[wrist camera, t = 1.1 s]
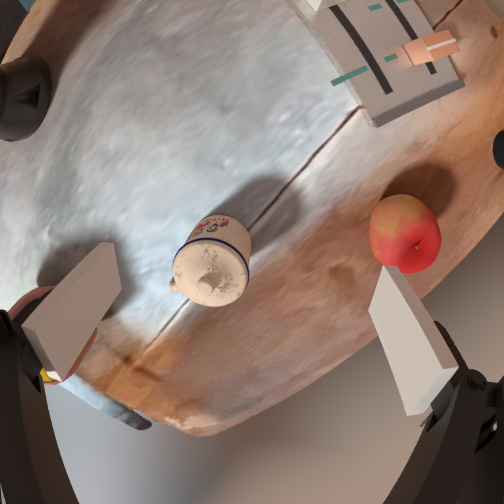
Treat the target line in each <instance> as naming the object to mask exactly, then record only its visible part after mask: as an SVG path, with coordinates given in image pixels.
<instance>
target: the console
mask: <svg viewBox="0 0 504 504" xmlns="http://www.w3.org/2000/svg"><path fill="white" fill-rule="evenodd" d="M285 1H286V2H287V4H288V5H289V6H290V7H291V8H292V9H293V11H294V12H295V13H296V14H297V16H298V17H299V18H300V19H301V21H302V22H303V23H304V24H305V26H306V27H307V28H308V30H309V31H310V32H311V34H312V35H313V36H314V38H315V39H316V41H317V42H318V43H319V45H320V46H321V48H322V49H323V50H324V52H325V53H326V55H327V56H328V58H329V59H330V61H331V62H332V64H333V65H334V67H335V68H336V70H337V71H338V73H339V75H340V76H341V77H339V78H336V79H334V80H332V81H330V82H331V83H332V85H333V86H335V85H337V84H340V83H342V82H344V83H345V84H346V86H347V88H348V89H349V91H350V93H351V94H352V96H353V98H354V100H355V101H356V103H357V105H358V107H359V109H360V110H361V112H362V114H363V116H364V118H365V120H366V121H367V123H368V125H369V126H371V127H380V126H382V125H384V124H386V123H388V122H390V121H392V120H394V119H396V118H398V117H400V116H402V115H404V114H406V113H409V112H411V111H413V110H415V109H417V108H419V107H421V106H423V105H425V104H427V103H430V102H432V101H434V100H436V99H438V98H440V97H442V96H445V95H447V94H449V93H451V92H454V91H456V90H458V89H460V88H463V87H465V83H464V81H463V79H461V80H459V79H458V77H457V75H456V72H455V70H454V68H453V66H452V64H451V62H450V60H449V58H448V56H445V57H443V58H440V59H437V60H434V61H430V62H426V63H422V64H418V65H414V64H413V62H412V60H411V58H410V56H409V55H408V53H407V51H406V49H405V48H404V46H403V45H404V44H406V43H408V42H411V41H413V40H416V39H418V38H420V37H423V36H427V35H430V34H433V33H434V31H433V29H432V28H431V26H430V24H429V23H428V21H427V19H426V18H425V16H424V15H423V13H422V12H421V10H420V9H419V7H418V6H417V4H416V3H415V1H414V0H348V1H345V2H342V3H339V4H336V5H334V6H331V7H328V8H326V9H323V10H320V11H318V12H316V11H315V10H314V9H313V8H312V6H311V5H310V4H309V3H308V2H307V0H285Z"/></svg>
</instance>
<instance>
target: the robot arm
mask: <svg viewBox="0 0 504 504" xmlns="http://www.w3.org/2000/svg"><path fill="white" fill-rule="evenodd" d="M34 2H35V0H0V64H1V62H2V60H3V58H4V56H5V54H6V52H7V50H8V48H9V46H10V44H11V42H12V40H13V38H14V36H15V35H16V33H17V31H18V29H19V27H20V26H21V24H22V22H23V21H24V19H25V17H26V16H27V15H28V14H29V13H30V9H31V7H32V5H33V4H34ZM50 94H51V77H50V72H49V69H48V67H47V65H46V63H45V62H44V61H43V60H42V59H41V58H38V57H33V56H24V57H20V58H17V59H15V60H14V61H12V62H8V63H5V64H2V65H0V140H1V139H3V140H5V141H9V142H15V141H19V140H23V139H26V138H28V137H29V136H31V135H32V134H33V133H34V132H35V131H36V130H37V128H38V127H39V126H40V124H41V122H42V120H43V118H44V116H45V114H46V111H47V108H48V104H49V100H50ZM121 290H122V286H121V281H120V276H119V271H118V265H117V260H116V254H115V248H114V243H109V242H101V243H99V244H98V245H97V246H96V247H95V248H94V249H93V250H92V251H91V252H90V253H89V254H88V255H87V256H86V257H85V258H84V259H83V260H82V261H81V262H80V263H79V264H78V265H77V266H76V267H75V268H74V269H73V270H72V271H71V272H70V273H69V274H68V275H67V276H66V277H65V278H64V279H63V280H62V281H61V282H60V283H59V284H58V285H57V286H56V287H55V288H52V289H51V290H49V291H48V292H46V293H44V294H43V295H42V296H41V297H40V298H39V300H38V301H37V303H35V304H34V305H33V306H32V308H30V310H29V311H28V312H27V313H26V314H25V315H24V316H23V318H22V319H21V320H20V321H19V322H18V323H17V325H16V326H15V327H14V325H13V323H12V321H11V319H10V316H9V314H8V312H7V311H5V310H2V309H1V310H0V483H1V487H2V491H3V495H4V498H5V502H6V504H79V502H78V500H77V497H76V495H75V493H74V490H73V488H72V485H71V483H70V480H69V478H68V475H67V472H66V470H65V467H64V464H63V461H62V458H61V455H60V451H59V448H58V445H57V441H56V438H55V434H54V431H53V427H52V423H51V419H50V414H49V410H48V405H47V400H46V395H45V389H44V383H43V378H42V376H41V374H40V372H41V370H42V368H44V369H45V371H46V373H47V374H48V376H49V377H51V378H53V379H56V380H58V381H61V382H63V381H64V379H65V377H66V376H67V374H68V372H69V370H70V369H71V367H72V365H73V364H74V362H75V360H76V359H77V357H78V355H79V354H80V352H81V350H82V349H83V347H84V346H85V344H86V342H87V341H88V339H89V338H90V336H91V335H92V333H93V331H94V330H95V328H96V327H97V325H98V324H99V322H100V321H101V319H102V318H103V316H104V315H105V313H106V312H107V310H108V309H109V307H110V306H111V304H112V303H113V302H114V300H115V299H116V297H117V296H118V294H119V293H120V291H121ZM368 311H369V313H370V316H371V318H372V320H373V323H374V325H375V328H376V330H377V333H378V335H379V338H380V340H381V343H382V345H383V348H384V351H385V353H386V356H387V359H388V361H389V364H390V367H391V369H392V372H393V375H394V378H395V381H396V384H397V386H398V389H399V392H400V395H401V398H402V401H403V404H404V408H405V411H406V414H407V416H410V415H416V414H421V413H423V412H424V411H425V410H426V409H427V408H428V407H429V405H430V404H431V407H432V409H433V411H432V413H431V414H430V415H429V416H428V417H427V418H426V419H425V420H424V421H423V422H422V424H421V425H420V427H422V426H423V425H424V424H425V423H426V424H425V427H424V429H423V431H422V433H421V436H420V438H419V440H418V442H417V444H416V446H415V448H414V451H413V453H412V454H411V456H410V458H409V460H408V462H407V464H406V466H405V468H404V470H403V471H402V473H401V475H400V477H399V478H398V480H397V482H396V484H395V485H394V487H393V489H392V490H391V492H390V494H389V495H388V497H387V498H386V500H385V501H384V503H383V504H504V376H503V377H502V378H501V380H500V381H499V382H498V383H494V382H487V380H486V378H485V377H484V376H483V375H482V374H481V373H480V372H478V371H477V370H474V369H468V367H467V365H466V363H465V361H464V360H463V358H462V356H461V354H460V352H459V351H458V349H457V347H456V346H454V342H453V341H452V339H450V335H449V334H448V332H447V330H446V329H445V328H444V327H443V326H442V325H441V324H440V323H439V322H438V321H433V320H432V319H431V317H430V315H429V314H428V313H427V311H426V309H425V307H424V306H423V304H422V303H421V301H420V300H419V298H418V297H417V295H416V294H415V292H414V291H413V289H412V288H411V286H410V285H409V283H408V282H407V280H406V279H405V277H404V276H403V274H402V273H401V272H400V270H399V269H398V267H397V266H390V265H383V268H382V271H381V274H380V277H379V280H378V283H377V286H376V289H375V292H374V295H373V298H372V301H371V304H370V307H369V310H368ZM496 422H497V429H496V430H495V431H494V429H493V425H494V424H495V423H496ZM456 502H457V503H456ZM0 504H2V500H1V488H0Z"/></svg>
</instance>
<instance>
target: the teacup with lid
mask: <svg viewBox="0 0 504 504" xmlns="http://www.w3.org/2000/svg"><path fill="white" fill-rule="evenodd" d="M250 252H251V239H250V236H249V233H248V231H247V230H246V228H245V227H244V226H243V225H242V224H241V223H240V222H239V221H237V220H236V219H234V218H232V217H229V216H225V215H213V216H209V217H207V218H205V219H203V220H201V221H200V222H199V223H198V224H197V225H196V226H195V228H194V229H193V231H192V233H191V234H190V236H189V237H188V239H187V241H186V242H185V244H184V245H183V246H182V247H181V248H180V249H179V250H178V252H177V253H176V255H175V258H174V261H173V276H174V277H173V278H172V279H171V281H170V284H169V286H170V288H171V289H172V290H173V291H180V290H181V292H182V293H183V294H184V295H185V296H186V297H188V298H189V299H191V300H192V301H194V302H196V303H199V304H201V305H205V306H223V305H226V304H229V303H231V302H233V301H235V300H236V299H237V298H239V297H240V296H241V294H242V293H243V292H244V291H245V289H246V287H247V285H248V281H249V268H248V267H249V259H250Z"/></svg>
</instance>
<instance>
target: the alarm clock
mask: <svg viewBox="0 0 504 504" xmlns="http://www.w3.org/2000/svg"><path fill="white" fill-rule="evenodd" d="M56 286H57V285H49V286H42V287H38V288H36V289H34V290H31V291H30V292H28V293H27V294H25V295H24V296H23V297H22V298H20V299H19V300H18V301H17V302H16V303H15V304H14V305H13V306H12V308H11V309H10V310H9V311H8V314H9V316H10V319H11V321H12V323H13V325H14V327H15V326H16V325H17V323H18V322H19V321H20V320H21V319H22V318H23V316H24V315H25V314H26V313H27V312H28V311H29V310H30V308H32V306H33V305H34V304H35V303H37V301H38V300H39V298H40V297H41V296H42V295H43V294H44V293H46V292H48V291H49V290H51V289H52V288H55V287H56ZM96 334H97V328H95V330H94V331H93V333H92V335H91V336H90V338H89V339H88V341H87V342H86V344H85V346H84V347H83V349H82V350H81V352H80V354H79V355H78V357H77V359H76V360H75V362H74V364H73V365H72V367H71V369H70V370H69V372H68V374H67V376H66V377H65V379H64V381H65V380H66V379H68V378H69V377H70V376H72V375H73V373H74V372H75V371H76V369H77V368H78V367H79V365H80V363H81V362H82V360H83V358H84V357H85V355H86V353H87V352H88V350H89V348H90V347H91V345H92V344H93V341H94V339H95V337H96ZM40 374H41V376H42V378H43V383H44V384H45V385H56V384H58V383H61V381H58V380H56V379H53V378H51V377H49V376H48V374H47V373H46V371H45V369H44V368H42V370H41V372H40Z"/></svg>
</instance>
